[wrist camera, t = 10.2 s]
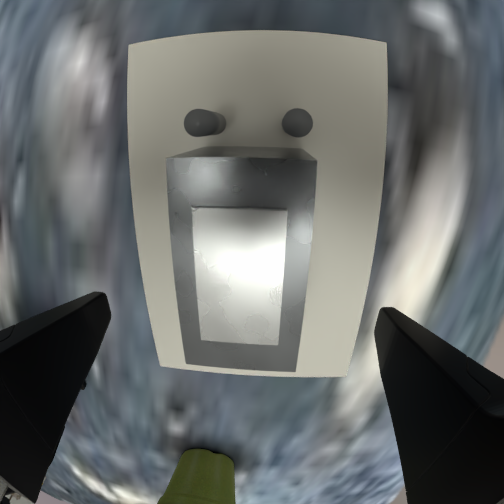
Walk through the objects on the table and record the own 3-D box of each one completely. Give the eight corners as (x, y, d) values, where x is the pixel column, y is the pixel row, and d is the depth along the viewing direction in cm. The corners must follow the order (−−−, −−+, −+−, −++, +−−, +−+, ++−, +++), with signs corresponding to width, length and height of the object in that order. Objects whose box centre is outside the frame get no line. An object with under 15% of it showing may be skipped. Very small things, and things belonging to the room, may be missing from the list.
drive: (291, 302, 18) (295, 374, 13) (210, 297, 19) (184, 366, 13) (302, 148, 15) (318, 161, 9) (205, 146, 15) (164, 158, 10)
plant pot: (262, 472, 29) (257, 532, 22) (197, 477, 32) (185, 530, 24) (223, 436, 26) (210, 509, 19) (153, 442, 29) (132, 503, 21)
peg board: (344, 367, 22) (353, 412, 17) (164, 357, 23) (145, 398, 18) (380, 46, 13) (411, 25, 9) (136, 48, 14) (97, 31, 10)
